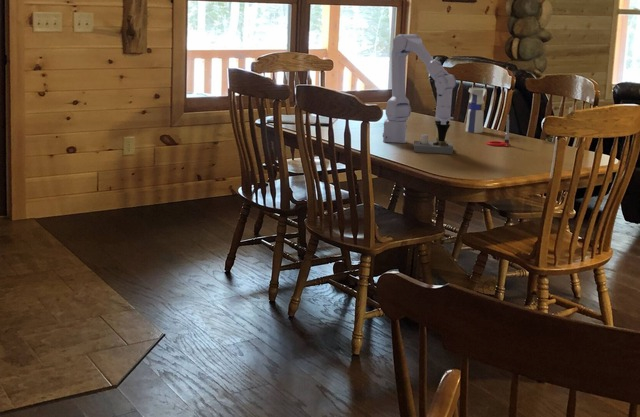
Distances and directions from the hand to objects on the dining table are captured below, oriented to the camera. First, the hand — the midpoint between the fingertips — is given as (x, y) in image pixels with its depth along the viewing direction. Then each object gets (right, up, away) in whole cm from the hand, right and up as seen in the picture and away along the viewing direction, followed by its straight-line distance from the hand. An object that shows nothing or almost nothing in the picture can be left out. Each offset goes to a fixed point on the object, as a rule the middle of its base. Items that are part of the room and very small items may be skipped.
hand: (441, 140), depth 342 cm
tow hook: (+26, -1, +19) cm, 33 cm away
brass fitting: (0, -3, +1) cm, 3 cm away
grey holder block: (-3, -4, +1) cm, 5 cm away
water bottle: (+22, +8, +50) cm, 55 cm away
